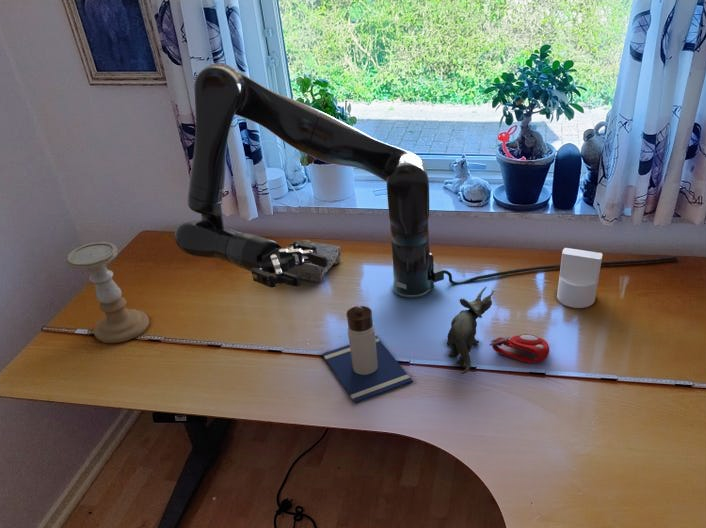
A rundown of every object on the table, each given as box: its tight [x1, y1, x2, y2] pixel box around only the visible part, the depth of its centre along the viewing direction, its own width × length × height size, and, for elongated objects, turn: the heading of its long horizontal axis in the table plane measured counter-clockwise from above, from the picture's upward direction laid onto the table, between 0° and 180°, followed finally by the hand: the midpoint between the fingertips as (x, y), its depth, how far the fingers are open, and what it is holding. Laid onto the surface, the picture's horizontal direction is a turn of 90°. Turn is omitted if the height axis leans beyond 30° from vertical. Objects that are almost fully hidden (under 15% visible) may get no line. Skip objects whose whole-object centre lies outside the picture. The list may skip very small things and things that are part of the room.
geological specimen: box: [283, 239, 342, 283], centre depth 165 cm, size 11×6×15 cm
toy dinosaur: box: [446, 286, 495, 375], centre depth 132 cm, size 22×8×11 cm, turn 160°
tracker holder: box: [489, 333, 550, 364], centre depth 134 cm, size 12×4×10 cm
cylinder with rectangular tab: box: [556, 247, 603, 309], centre depth 147 cm, size 9×9×12 cm
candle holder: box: [65, 241, 150, 344], centre depth 142 cm, size 12×12×20 cm
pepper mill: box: [346, 305, 378, 375], centre depth 128 cm, size 5×5×15 cm
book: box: [322, 335, 414, 404], centre depth 133 cm, size 13×18×1 cm
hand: (312, 271), depth 125 cm, fingers open, 8 cm apart
